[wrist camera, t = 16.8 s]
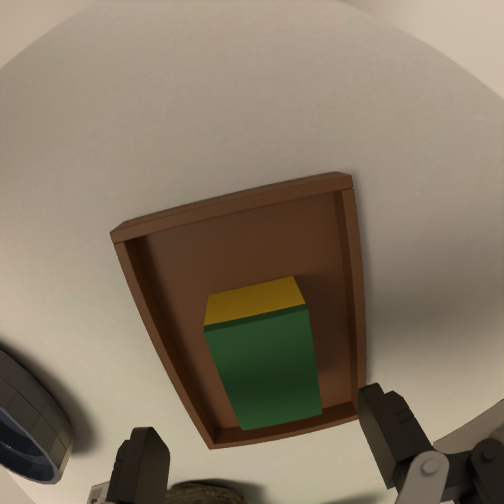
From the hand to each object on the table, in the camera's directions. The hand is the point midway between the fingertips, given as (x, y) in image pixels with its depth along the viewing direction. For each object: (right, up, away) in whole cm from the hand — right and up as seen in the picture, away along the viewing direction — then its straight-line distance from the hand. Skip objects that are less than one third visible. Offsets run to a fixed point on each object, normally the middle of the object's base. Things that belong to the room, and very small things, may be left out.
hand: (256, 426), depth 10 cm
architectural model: (+34, -22, +18) cm, 44 cm away
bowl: (-23, -7, +9) cm, 26 cm away
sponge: (+1, +2, +7) cm, 7 cm away
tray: (0, +2, +7) cm, 8 cm away
